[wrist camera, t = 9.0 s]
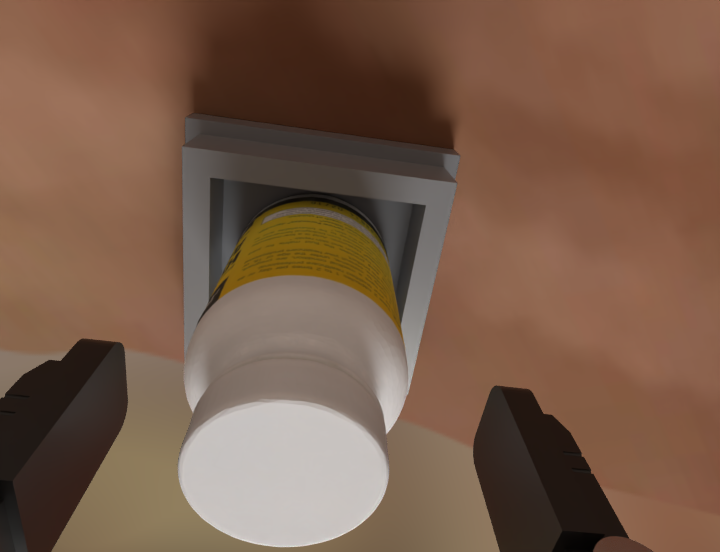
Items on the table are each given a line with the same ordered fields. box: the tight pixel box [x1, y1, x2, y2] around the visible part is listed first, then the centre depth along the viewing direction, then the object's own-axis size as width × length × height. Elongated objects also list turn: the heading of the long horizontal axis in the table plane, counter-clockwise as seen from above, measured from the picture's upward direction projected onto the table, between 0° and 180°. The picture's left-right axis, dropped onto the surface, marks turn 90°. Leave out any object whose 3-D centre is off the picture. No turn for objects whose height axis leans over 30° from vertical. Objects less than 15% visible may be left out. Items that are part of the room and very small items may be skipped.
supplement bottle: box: [178, 194, 408, 547], centre depth 14 cm, size 5×5×10 cm
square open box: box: [182, 113, 460, 395], centre depth 18 cm, size 9×9×3 cm
